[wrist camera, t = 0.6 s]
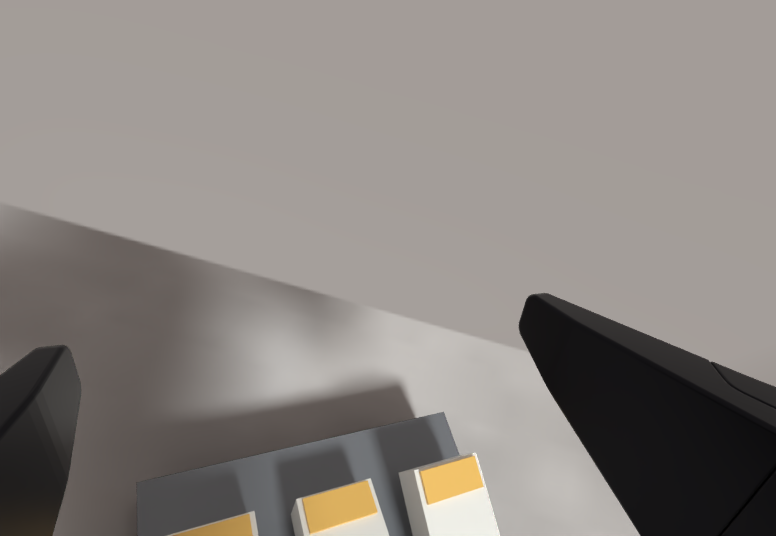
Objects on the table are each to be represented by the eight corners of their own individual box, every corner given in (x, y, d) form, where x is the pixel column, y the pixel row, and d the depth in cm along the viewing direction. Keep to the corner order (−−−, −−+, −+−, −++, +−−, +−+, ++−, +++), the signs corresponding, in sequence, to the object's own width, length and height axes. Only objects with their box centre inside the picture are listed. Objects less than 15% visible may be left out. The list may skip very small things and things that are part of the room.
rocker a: (494, 589, 19) (520, 596, 17) (431, 617, 17) (453, 628, 16) (457, 456, 20) (477, 452, 19) (398, 472, 19) (415, 469, 18)
